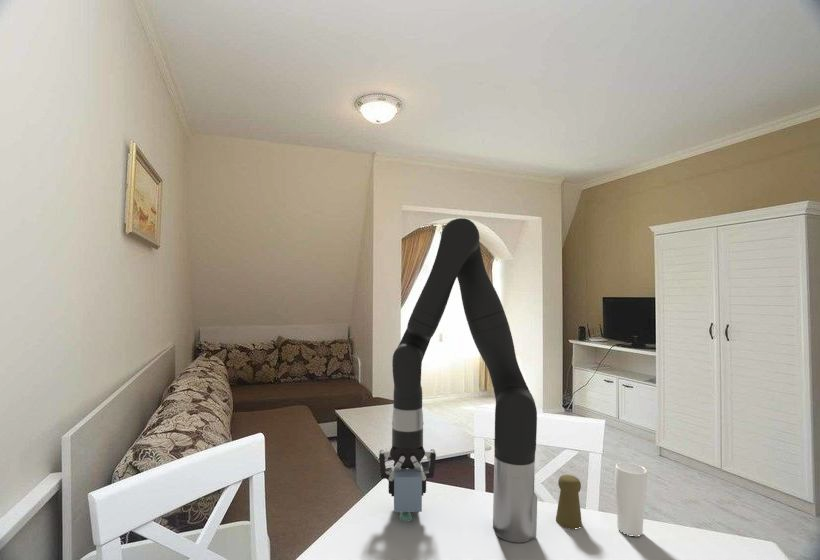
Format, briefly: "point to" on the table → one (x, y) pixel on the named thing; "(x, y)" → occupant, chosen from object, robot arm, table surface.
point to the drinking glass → (630, 497)
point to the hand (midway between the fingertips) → (407, 494)
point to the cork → (569, 502)
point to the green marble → (405, 516)
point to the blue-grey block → (407, 490)
